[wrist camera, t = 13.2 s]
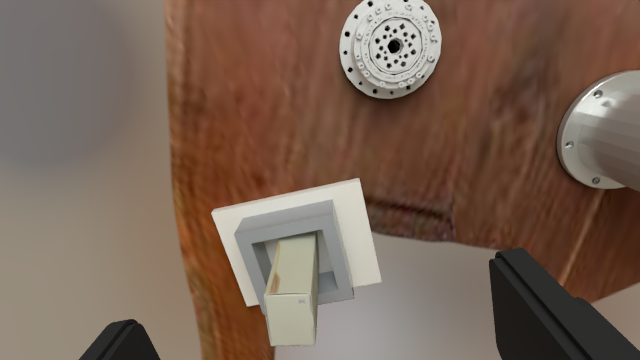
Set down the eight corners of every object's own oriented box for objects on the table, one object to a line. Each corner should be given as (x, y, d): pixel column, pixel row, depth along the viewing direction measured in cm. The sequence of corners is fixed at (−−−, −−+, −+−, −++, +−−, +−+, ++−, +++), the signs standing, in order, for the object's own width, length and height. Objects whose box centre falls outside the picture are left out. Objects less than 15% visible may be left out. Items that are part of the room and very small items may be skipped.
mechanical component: (452, 67, 35) (413, -29, 33) (468, 69, 31) (425, -41, 28) (365, 113, 37) (321, 27, 34) (370, 121, 33) (320, 22, 30)
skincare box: (281, 225, 41) (261, 291, 29) (317, 224, 41) (311, 290, 29) (285, 271, 43) (269, 349, 31) (320, 270, 43) (315, 348, 31)
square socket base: (359, 177, 40) (362, 194, 35) (380, 277, 44) (386, 303, 39) (213, 209, 41) (198, 228, 37) (248, 301, 46) (239, 329, 41)
